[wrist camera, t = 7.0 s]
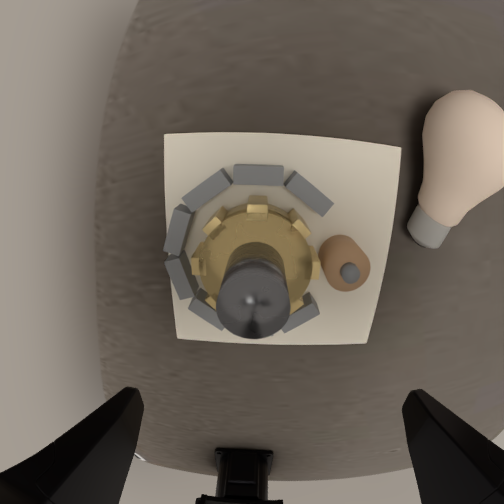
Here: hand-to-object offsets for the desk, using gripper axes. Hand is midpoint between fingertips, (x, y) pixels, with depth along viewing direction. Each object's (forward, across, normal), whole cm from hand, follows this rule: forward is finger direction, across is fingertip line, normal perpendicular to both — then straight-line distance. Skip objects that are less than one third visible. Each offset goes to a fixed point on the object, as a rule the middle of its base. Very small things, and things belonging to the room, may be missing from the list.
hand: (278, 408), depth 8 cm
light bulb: (+12, -11, -7) cm, 18 cm away
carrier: (+12, -1, -1) cm, 12 cm away
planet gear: (+11, +1, -1) cm, 11 cm away
